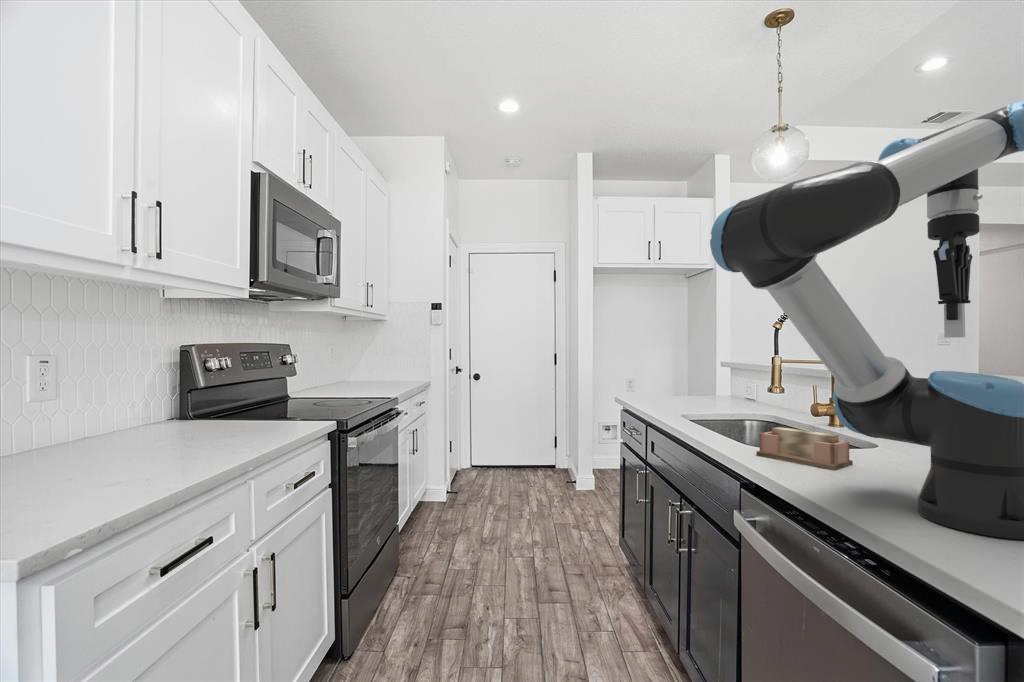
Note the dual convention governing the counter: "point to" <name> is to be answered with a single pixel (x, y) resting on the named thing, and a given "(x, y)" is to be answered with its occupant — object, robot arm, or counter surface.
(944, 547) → the counter surface
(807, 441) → the birch slat
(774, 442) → the brown slotted stand
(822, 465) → the board
